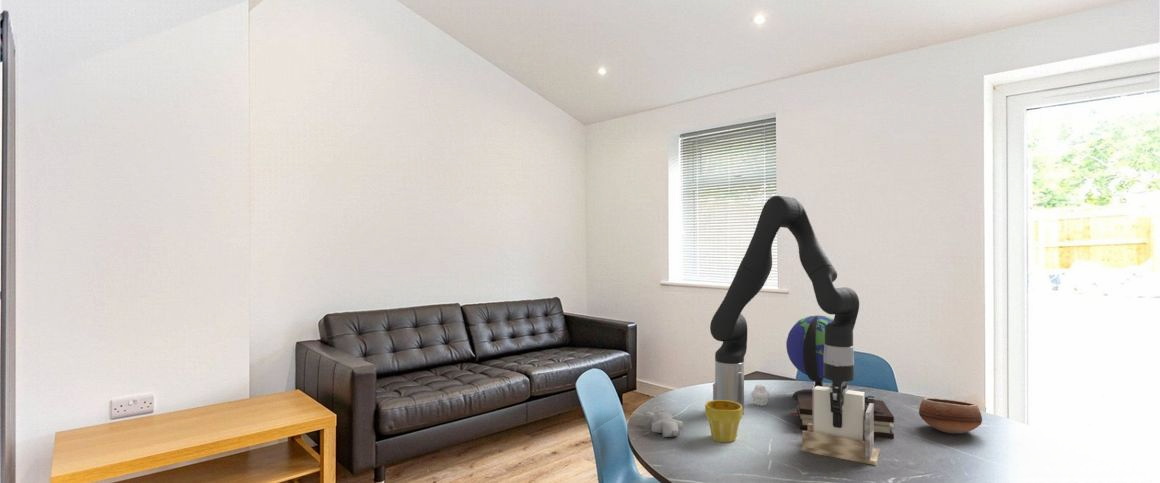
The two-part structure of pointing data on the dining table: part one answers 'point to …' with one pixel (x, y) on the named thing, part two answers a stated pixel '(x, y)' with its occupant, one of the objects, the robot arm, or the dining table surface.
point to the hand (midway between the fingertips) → (838, 424)
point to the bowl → (950, 415)
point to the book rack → (844, 443)
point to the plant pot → (723, 419)
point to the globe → (808, 348)
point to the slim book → (850, 417)
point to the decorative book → (881, 412)
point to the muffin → (760, 395)
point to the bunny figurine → (665, 423)
